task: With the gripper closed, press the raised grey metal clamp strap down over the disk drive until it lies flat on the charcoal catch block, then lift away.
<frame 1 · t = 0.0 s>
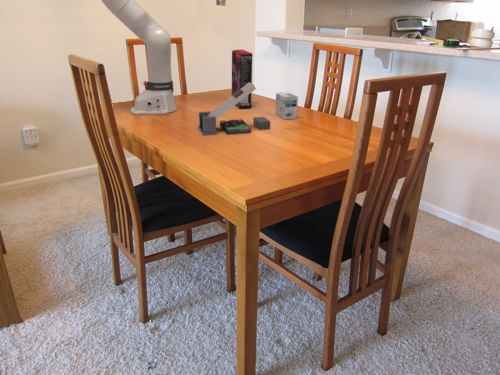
hand: (220, 5, 196), 48 cm above the table, tool pointing down, fingers open, 8 cm apart
clamp strap: (228, 103, 173), point 11 cm above the table, hinge at 35.0°
light bulb box: (285, 117, 199), on the table
disk drive: (235, 130, 179), on the table
graphics card box: (241, 105, 219), on the table
strap bracket: (207, 131, 175), on the table
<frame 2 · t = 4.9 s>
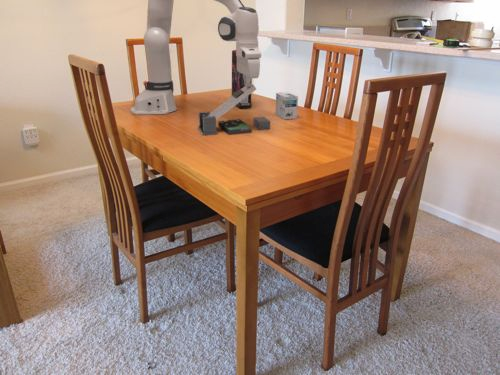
hand: (247, 86, 172), 18 cm above the table, tool pointing down, fingers closed, pressing on clamp strap
clamp strap: (228, 103, 173), point 11 cm above the table, hinge at 34.3°, touching gripper
everything else where it was.
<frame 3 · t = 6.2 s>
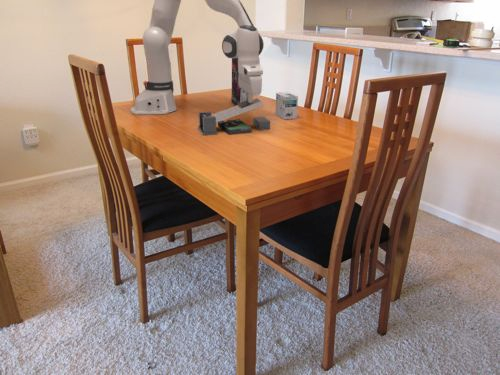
hand: (249, 102, 175), 11 cm above the table, tool pointing down, fingers closed, pressing on clamp strap
clamp strap: (232, 111, 175), point 8 cm above the table, hinge at 16.2°, touching gripper
everything else where it was.
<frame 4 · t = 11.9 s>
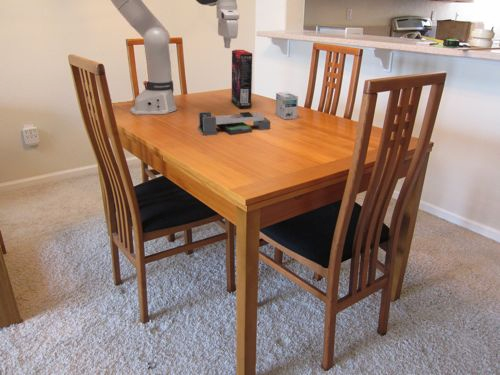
hand: (227, 47, 183), 31 cm above the table, tool pointing down, fingers closed
clamp strap: (233, 118, 176), point 5 cm above the table, hinge at 0.7°
at the end: clamp strap at +1° (first picture: +35°); disk drive moved 0.9 cm from its start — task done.
